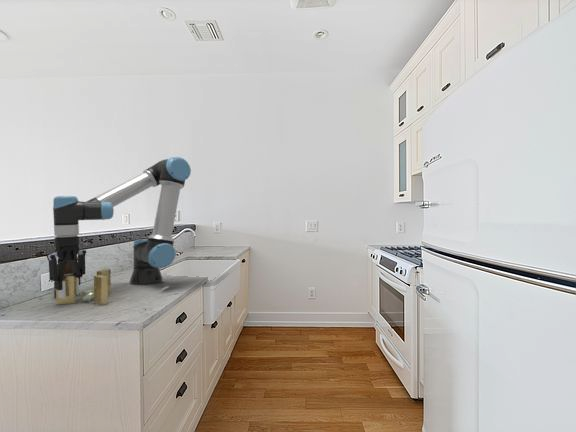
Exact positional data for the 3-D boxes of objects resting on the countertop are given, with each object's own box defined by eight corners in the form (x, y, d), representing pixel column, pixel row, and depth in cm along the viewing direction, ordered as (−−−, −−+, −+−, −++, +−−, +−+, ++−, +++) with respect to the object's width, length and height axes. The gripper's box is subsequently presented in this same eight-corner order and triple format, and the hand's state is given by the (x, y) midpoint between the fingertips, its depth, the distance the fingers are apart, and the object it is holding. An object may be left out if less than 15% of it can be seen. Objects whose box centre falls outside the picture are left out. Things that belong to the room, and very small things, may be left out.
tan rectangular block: (75, 301, 111) (75, 274, 111) (73, 303, 109) (73, 276, 109) (58, 302, 109) (58, 275, 109) (56, 304, 107) (56, 277, 107)
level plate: (121, 293, 127) (121, 281, 127) (120, 306, 109) (120, 293, 109) (63, 299, 117) (63, 287, 117) (50, 316, 98) (50, 301, 98)
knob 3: (93, 302, 109) (93, 276, 109) (100, 301, 111) (100, 274, 111) (101, 305, 106) (101, 277, 106) (107, 303, 108) (107, 276, 108)
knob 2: (101, 296, 118) (101, 271, 118) (96, 296, 118) (96, 271, 118) (110, 292, 123) (110, 268, 123) (105, 292, 123) (105, 268, 123)
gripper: (81, 234, 118) (83, 289, 118) (34, 238, 101) (36, 302, 102) (95, 234, 116) (97, 290, 116) (49, 238, 99) (51, 304, 100)
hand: (69, 295), depth 109 cm, fingers open, 4 cm apart
